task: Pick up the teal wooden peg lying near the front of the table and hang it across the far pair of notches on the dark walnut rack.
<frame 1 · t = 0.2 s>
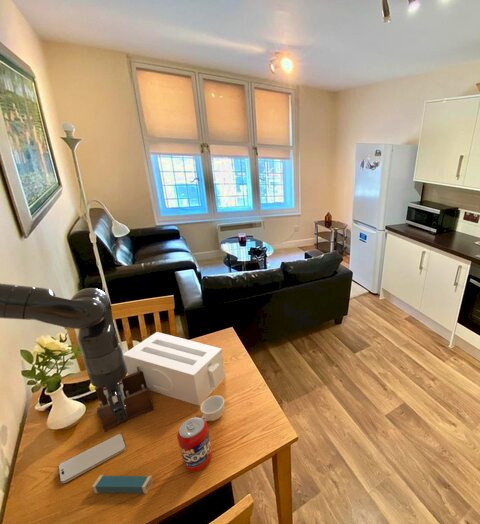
hand: (120, 409, 79), 22 cm above the table, tool pointing down, fingers open, 8 cm apart
rack: (127, 407, 104), on the table
toaster: (182, 383, 117), on the table
smartphone: (94, 458, 87), on the table
teacup: (212, 418, 103), on the table
peg: (124, 487, 81), on the table
soda can: (198, 461, 89), on the table
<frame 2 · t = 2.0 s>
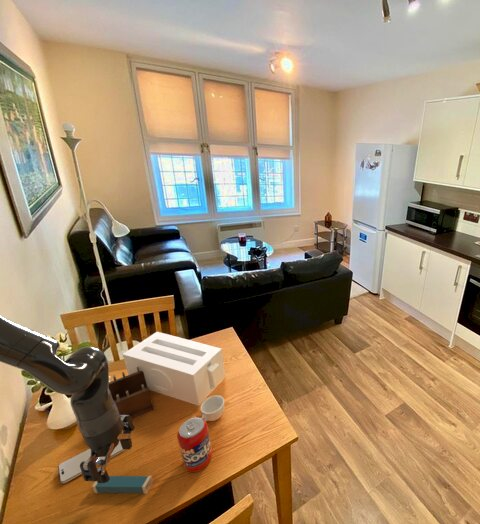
hand: (116, 463, 77), 10 cm above the table, tool pointing down, fingers open, 8 cm apart
nothing on the table moved.
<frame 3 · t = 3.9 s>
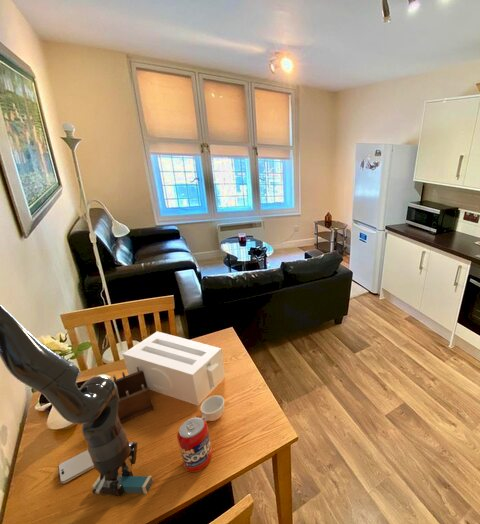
hand: (124, 487, 81), 0 cm above the table, tool pointing down, fingers closed on peg, 3 cm apart
toaster: (182, 383, 117), on the table, touching rack
peg: (124, 487, 81), on the table, touching gripper
everything else where it was.
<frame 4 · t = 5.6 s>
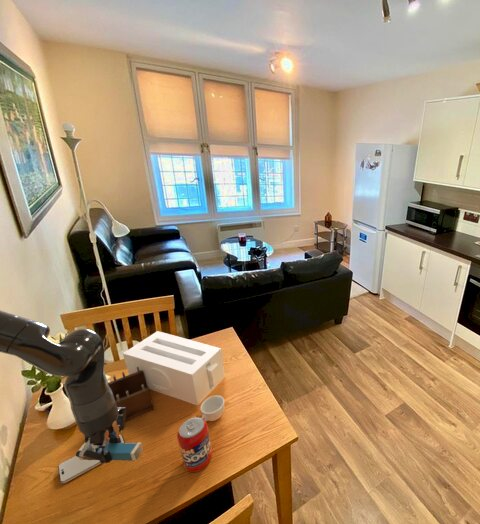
hand: (112, 454, 75), 14 cm above the table, tool pointing down, fingers closed on peg, 2 cm apart
peg: (112, 454, 75), point 14 cm above the table, touching gripper
everything else where it was.
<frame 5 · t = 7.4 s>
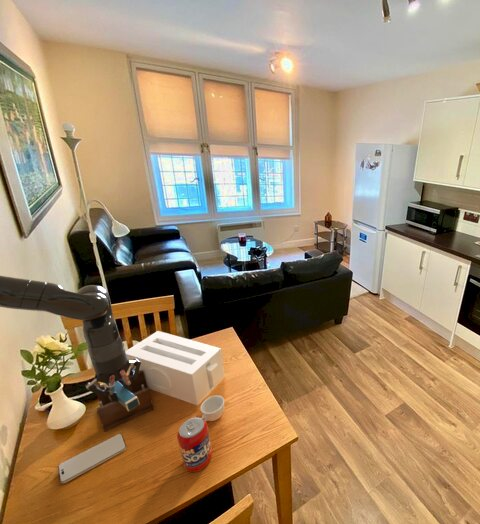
hand: (122, 396, 88), 17 cm above the table, tool pointing down, fingers closed on peg, 2 cm apart
peg: (122, 397, 88), point 17 cm above the table, touching gripper
everything else where it was.
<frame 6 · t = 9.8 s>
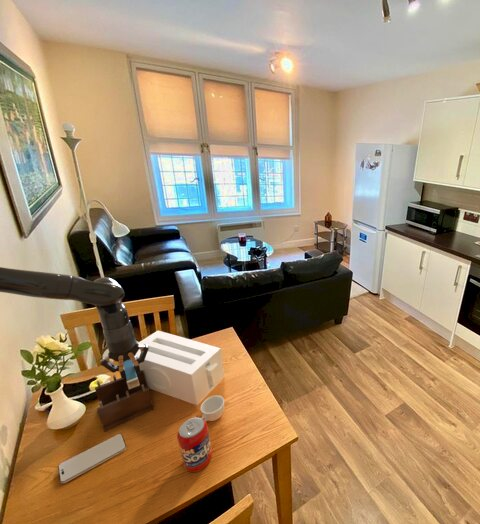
hand: (131, 374, 101), 13 cm above the table, tool pointing down, fingers closed on peg, 2 cm apart
peg: (131, 375, 101), point 13 cm above the table, touching gripper
everything else where it was.
when the fingers open (9 cm above the table, at t = 11.3 s): peg stays where it is, resting on rack.
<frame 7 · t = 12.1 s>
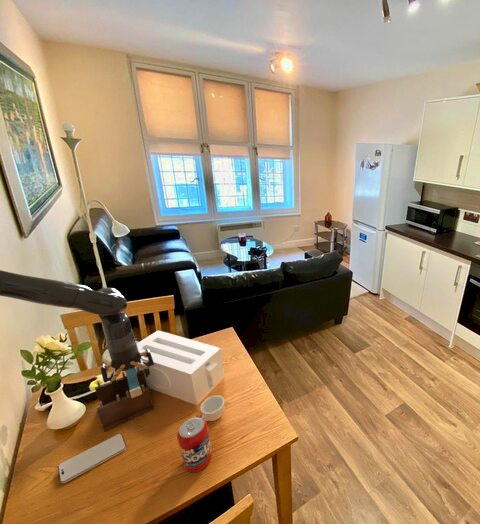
hand: (132, 381, 102), 10 cm above the table, tool pointing down, fingers open, 8 cm apart
toaster: (181, 382, 117), on the table
peg: (133, 383, 103), point 9 cm above the table, touching rack
everything else where it was.
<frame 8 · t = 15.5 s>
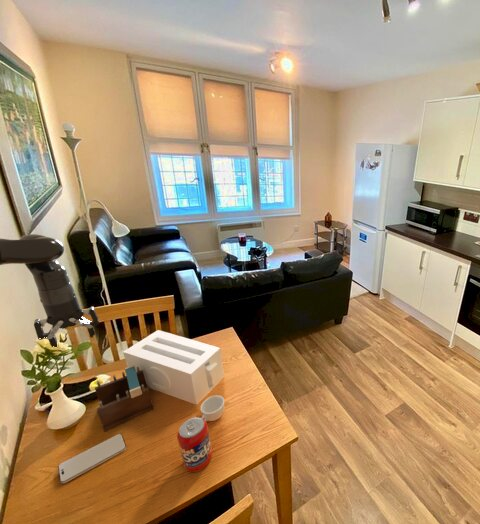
hand: (74, 341, 94), 28 cm above the table, tool pointing down, fingers open, 8 cm apart
toaster: (181, 381, 117), on the table, touching rack
everything else where it was.
at the end: peg 0.0 cm from the target spot on the rack, point 9.0 cm above the rack's base; peg tilted 0°; the gripper is holding nothing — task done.
